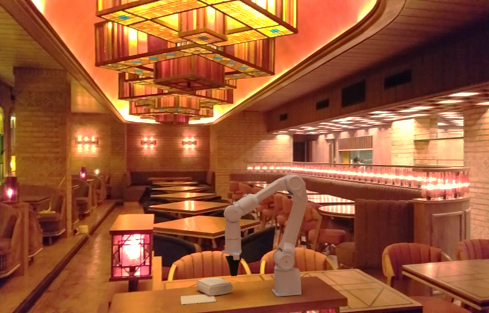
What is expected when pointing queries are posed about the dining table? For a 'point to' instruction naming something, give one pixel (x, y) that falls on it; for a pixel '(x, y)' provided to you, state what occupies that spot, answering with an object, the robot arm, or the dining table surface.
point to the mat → (197, 299)
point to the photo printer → (214, 286)
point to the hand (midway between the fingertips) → (233, 275)
